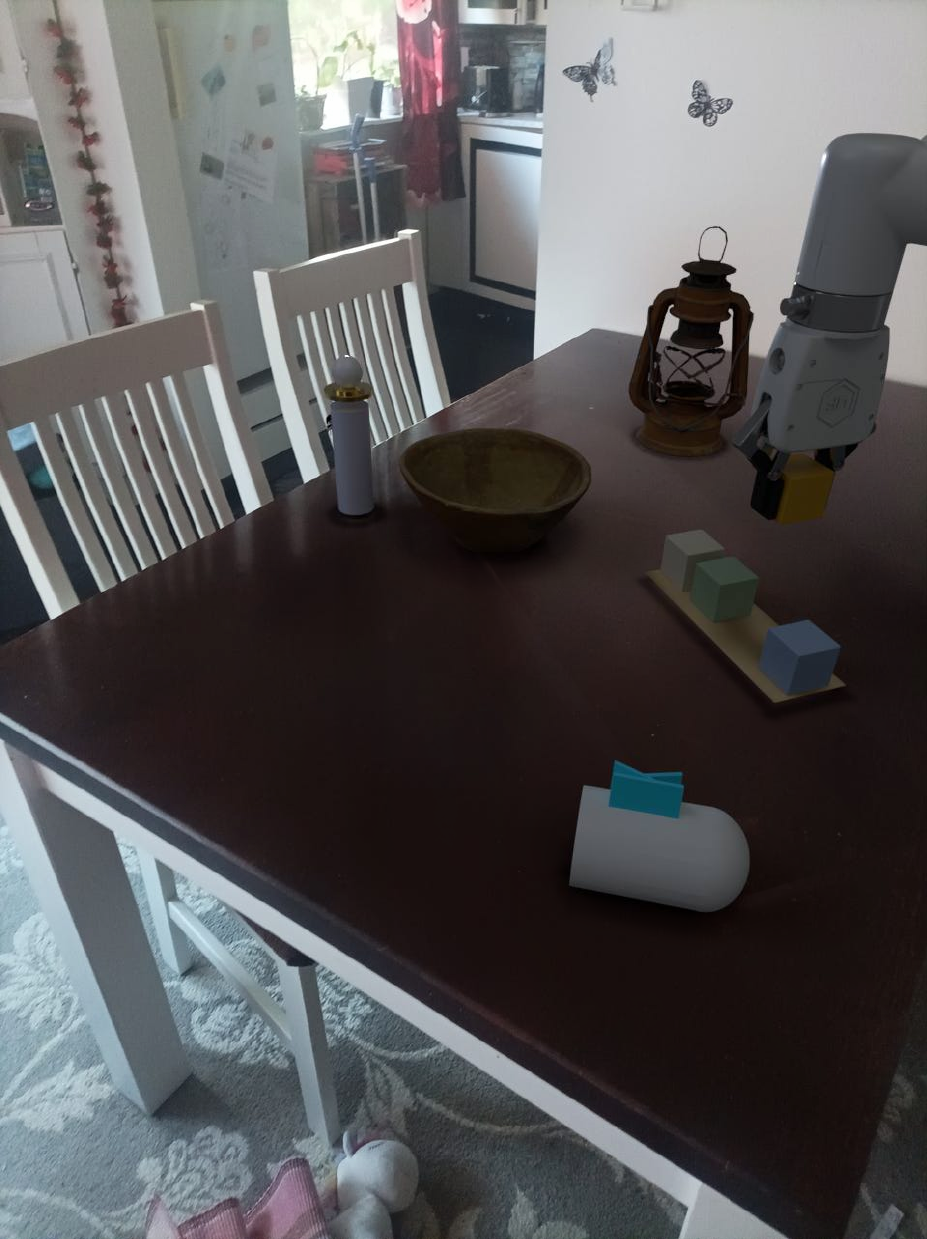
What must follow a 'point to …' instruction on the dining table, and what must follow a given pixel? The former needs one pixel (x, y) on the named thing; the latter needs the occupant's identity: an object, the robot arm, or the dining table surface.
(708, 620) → the board
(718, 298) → the lantern
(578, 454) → the bowl
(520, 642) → the dining table surface
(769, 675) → the blue block
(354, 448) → the perfume bottle
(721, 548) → the cream block
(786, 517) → the mustard block
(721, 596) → the sage block
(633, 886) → the grey rounded block
